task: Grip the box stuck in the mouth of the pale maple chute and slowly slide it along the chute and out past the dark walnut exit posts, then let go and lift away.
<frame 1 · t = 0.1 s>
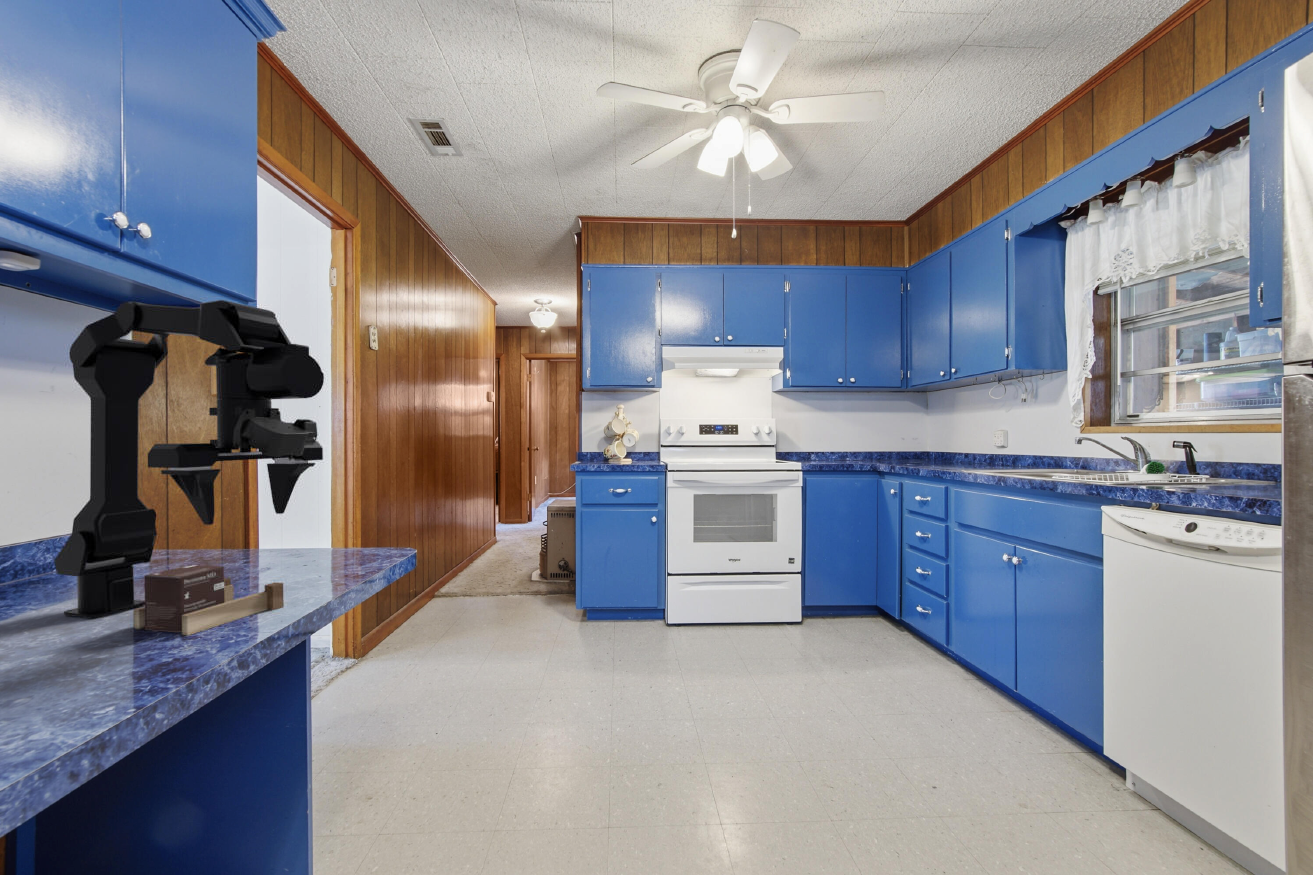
hand: (246, 518, 70), 14 cm above the counter, fingers open, 9 cm apart
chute: (210, 616, 75), on the counter
box: (186, 625, 72), on the counter
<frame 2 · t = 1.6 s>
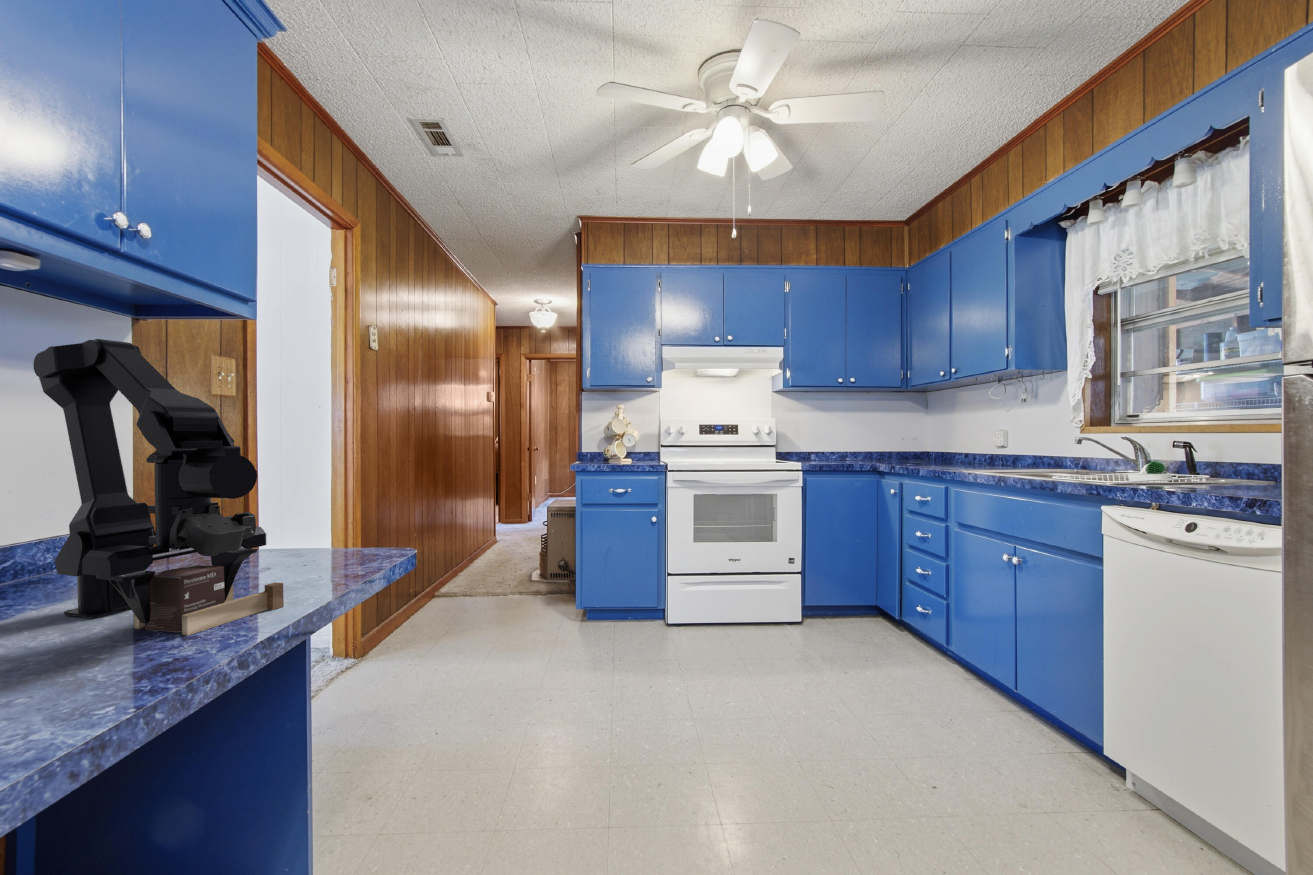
hand: (185, 611, 72), 2 cm above the counter, fingers open, 9 cm apart
nothing on the counter moved.
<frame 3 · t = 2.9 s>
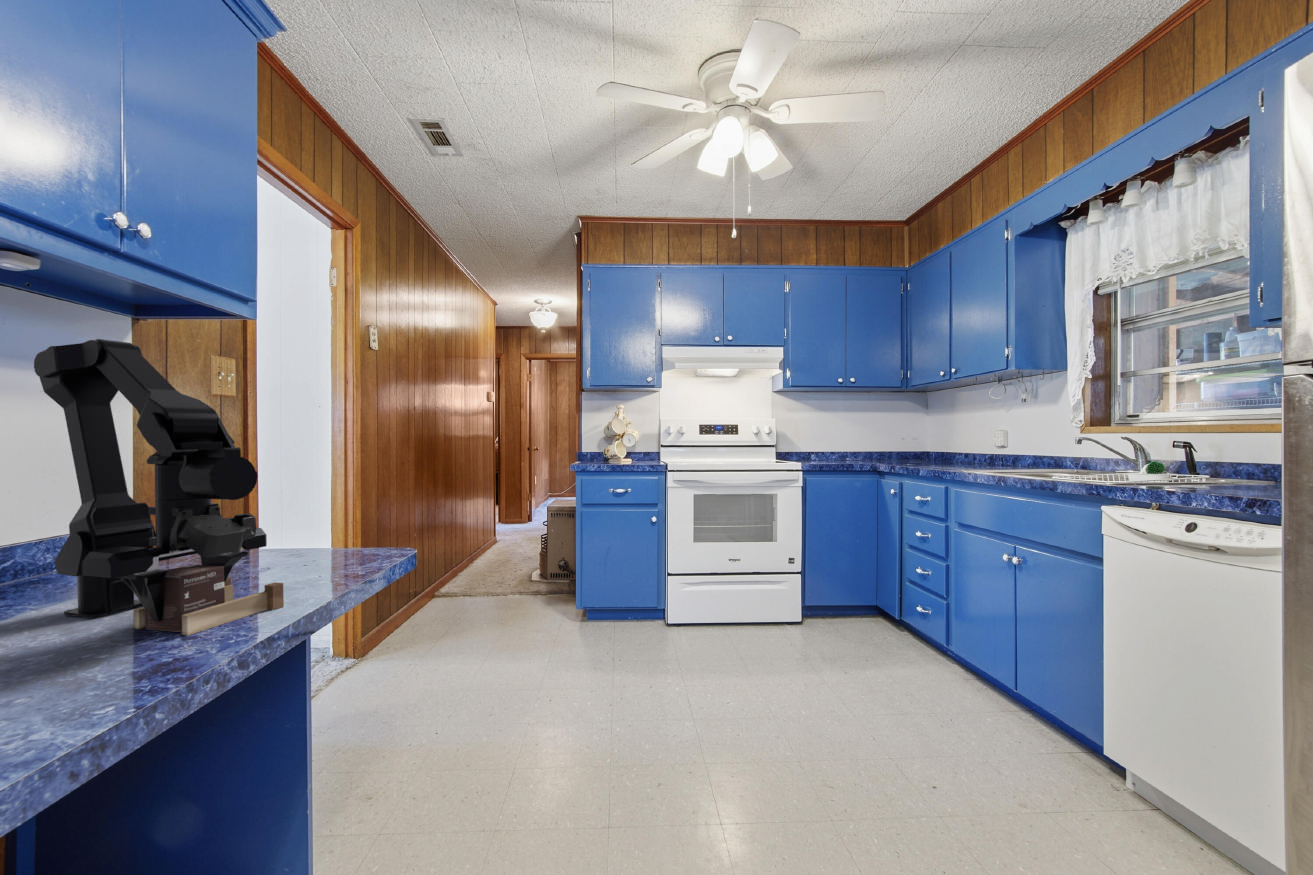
hand: (186, 612, 72), 2 cm above the counter, fingers closed on box, 6 cm apart
box: (186, 625, 72), on the counter, touching gripper
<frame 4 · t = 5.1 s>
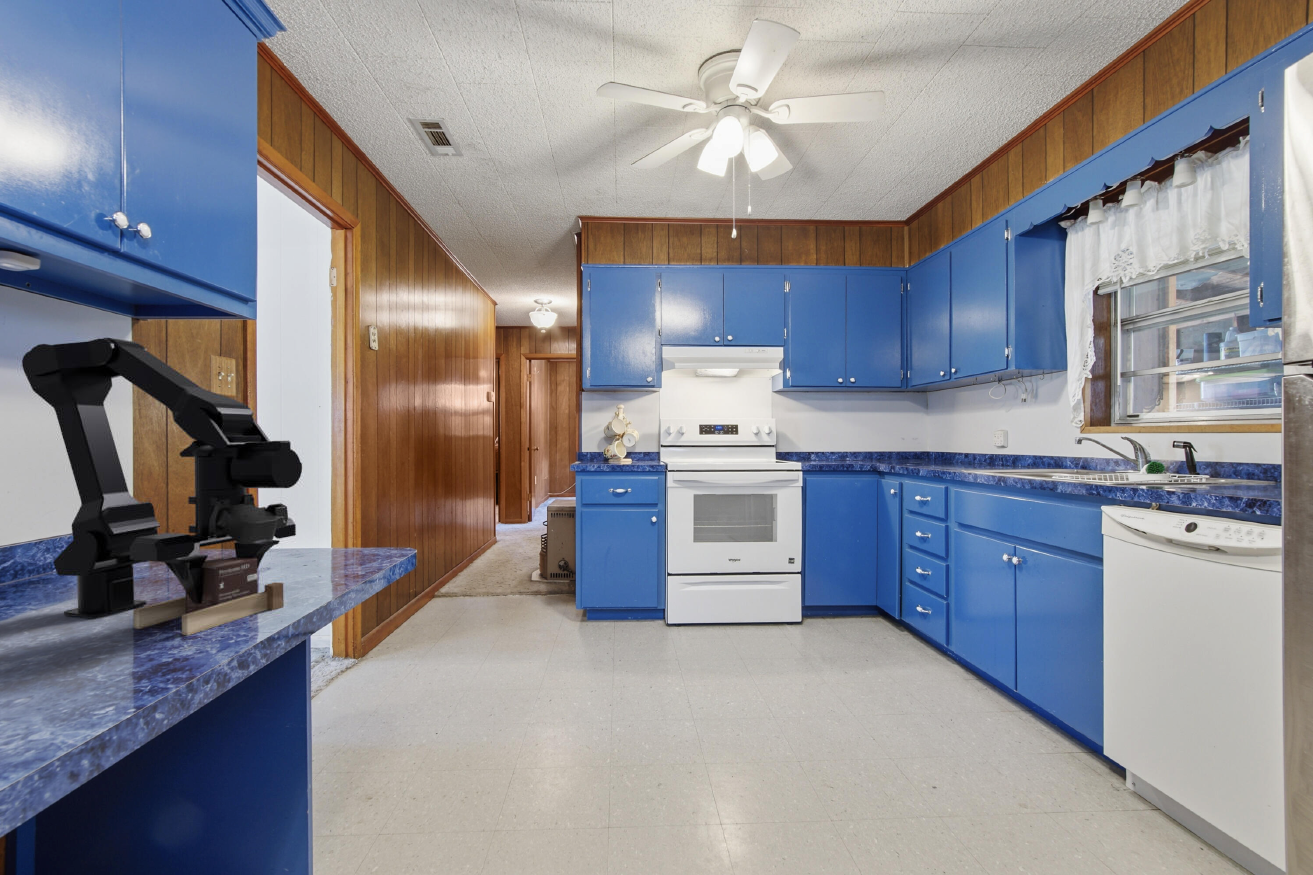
hand: (222, 596, 77), 2 cm above the counter, fingers closed on box, 6 cm apart
box: (222, 613, 77), on the counter, touching gripper
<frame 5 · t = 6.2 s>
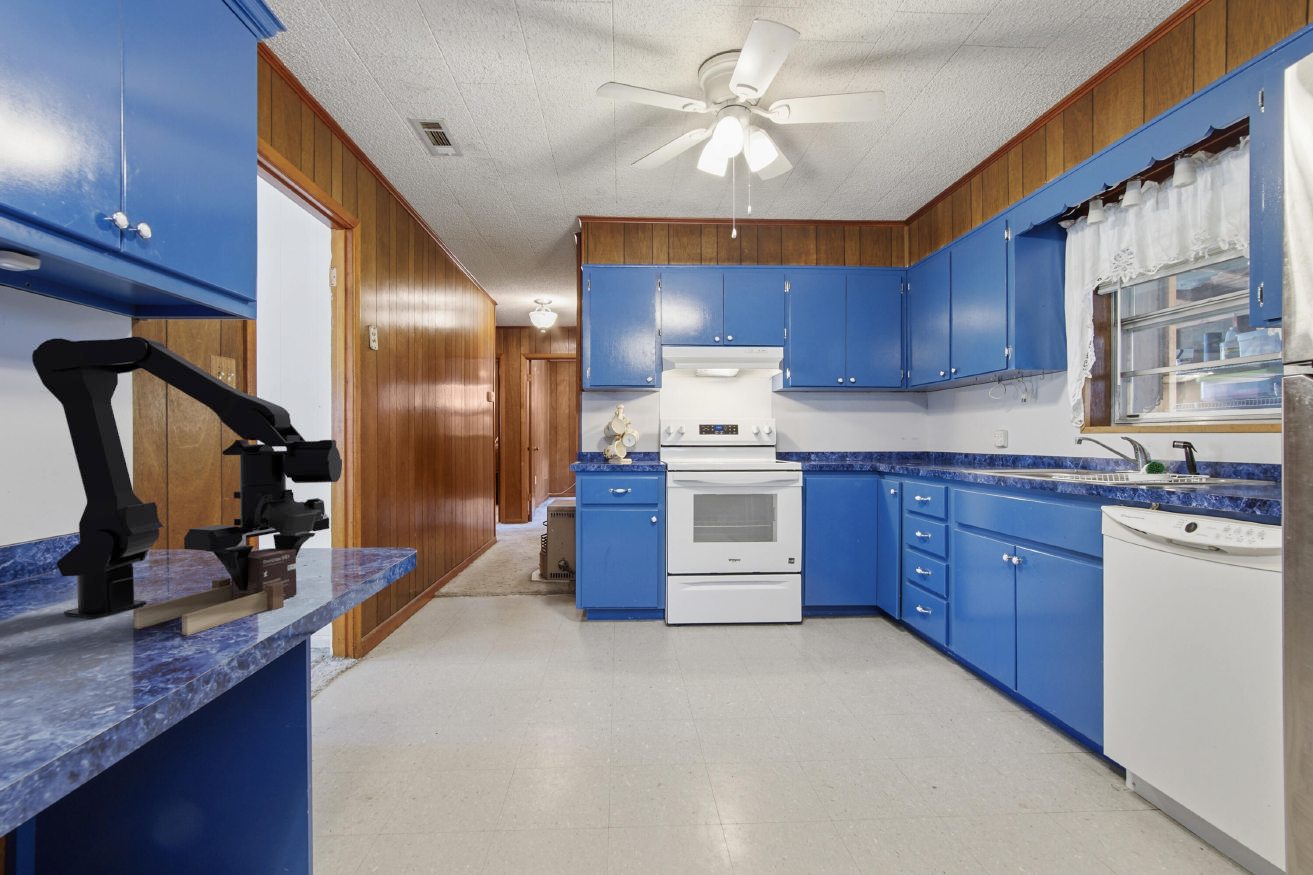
hand: (264, 584, 83), 2 cm above the counter, fingers closed on box, 6 cm apart
box: (264, 600, 83), on the counter, touching gripper
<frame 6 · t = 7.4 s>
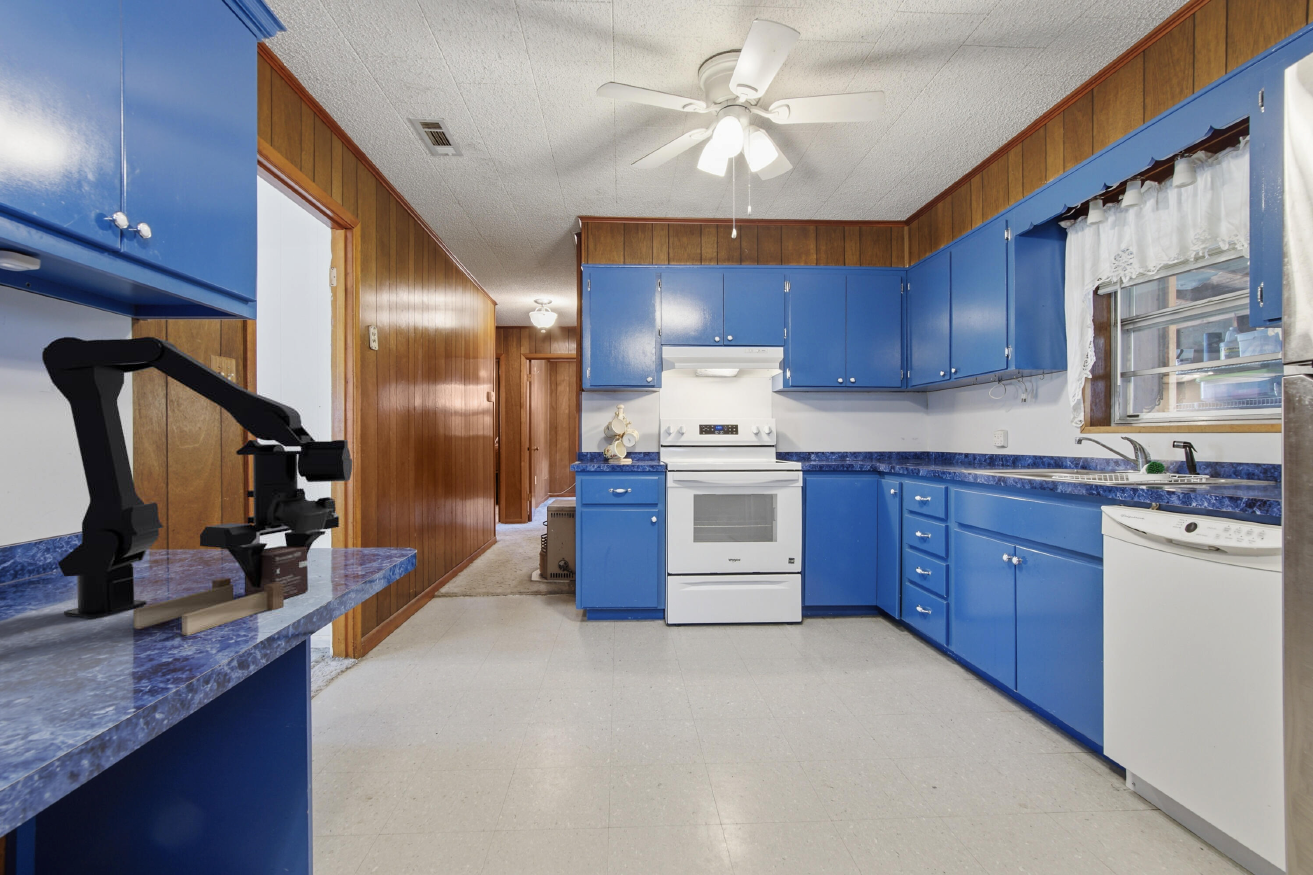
hand: (276, 581, 85), 2 cm above the counter, fingers closed on box, 6 cm apart
box: (277, 597, 85), on the counter, touching gripper
when the fingers open (2 cm above the counter, at t = 8.1 s): box stays where it is, on the counter.
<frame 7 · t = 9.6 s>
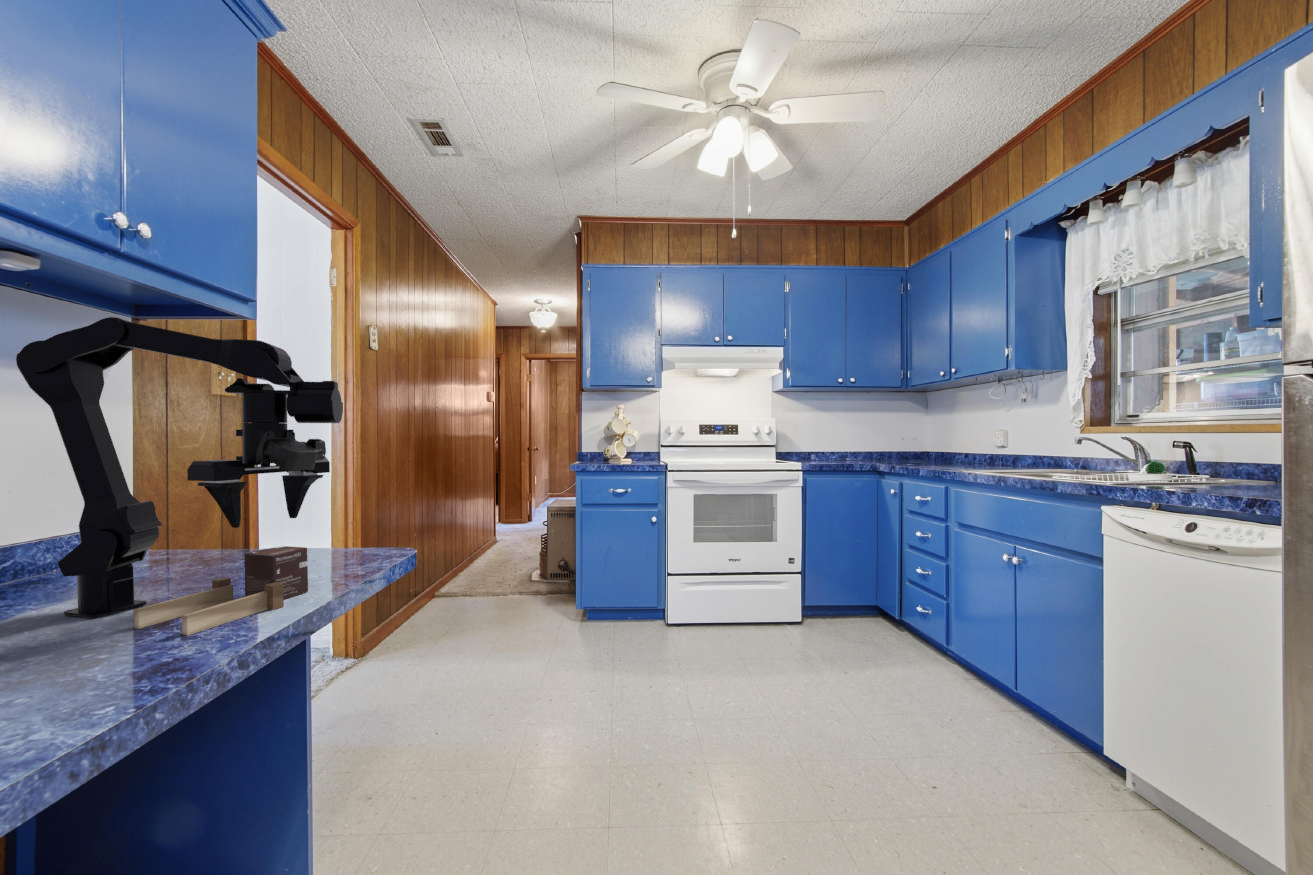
hand: (265, 522, 84), 12 cm above the counter, fingers open, 9 cm apart
box: (277, 597, 85), on the counter
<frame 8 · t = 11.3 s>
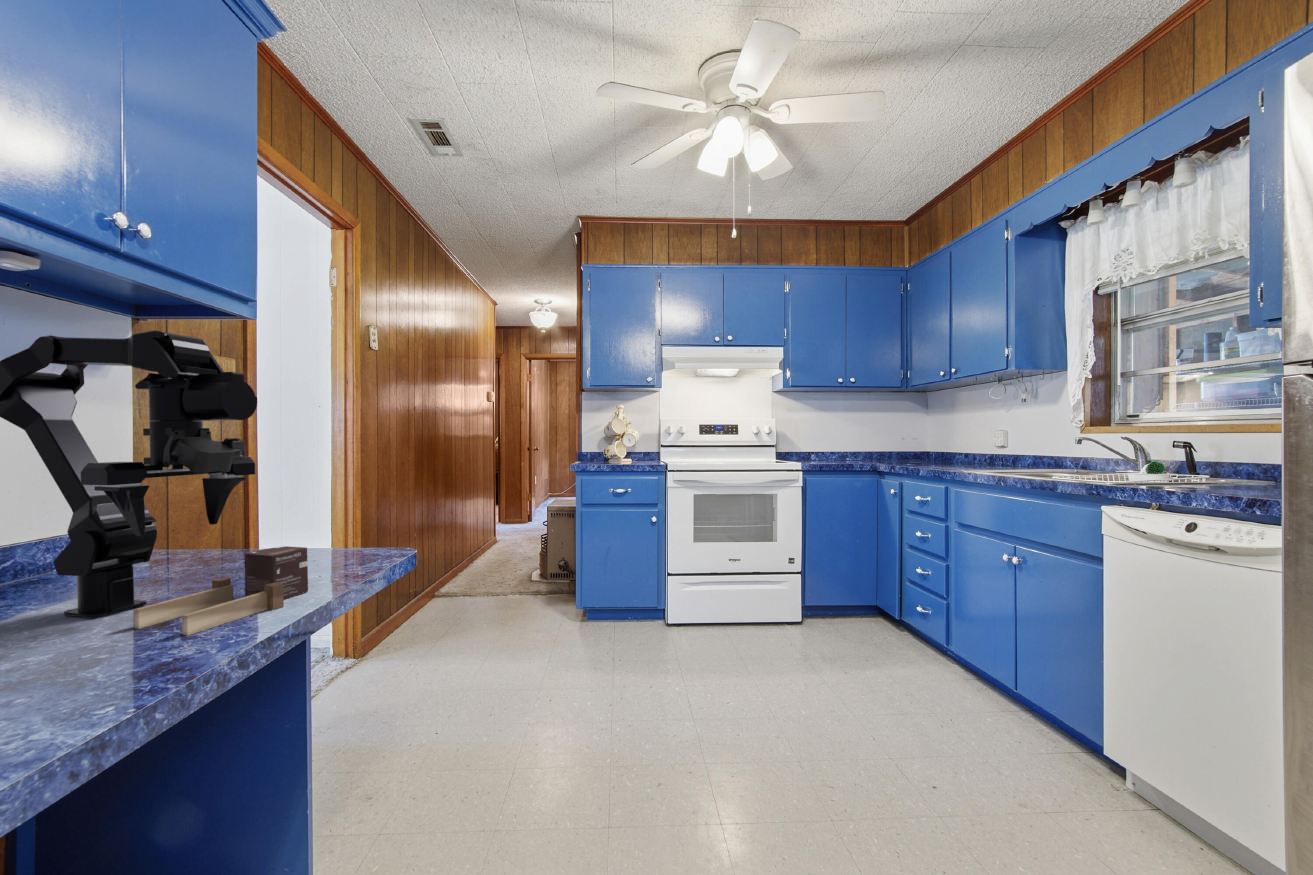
hand: (178, 529, 77), 12 cm above the counter, fingers open, 9 cm apart
nothing on the counter moved.
at the end: box inside the target area (3.1 cm from its centre), on the counter; box tilted 0°; the gripper is holding nothing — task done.
